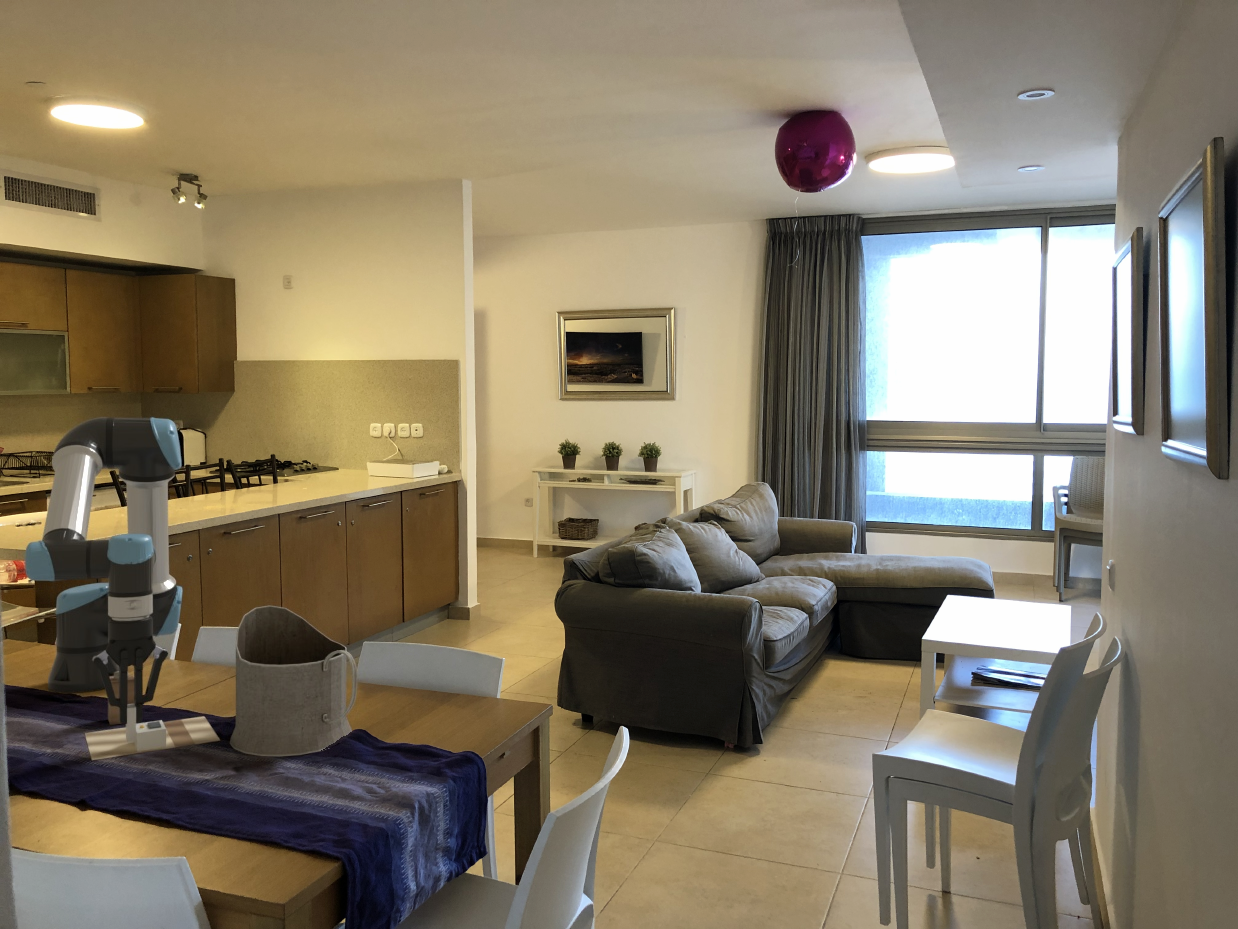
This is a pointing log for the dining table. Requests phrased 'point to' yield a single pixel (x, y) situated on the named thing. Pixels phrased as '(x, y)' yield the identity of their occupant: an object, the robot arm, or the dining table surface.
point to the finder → (150, 735)
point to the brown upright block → (114, 710)
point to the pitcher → (288, 685)
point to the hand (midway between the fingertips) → (130, 739)
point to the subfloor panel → (176, 736)
